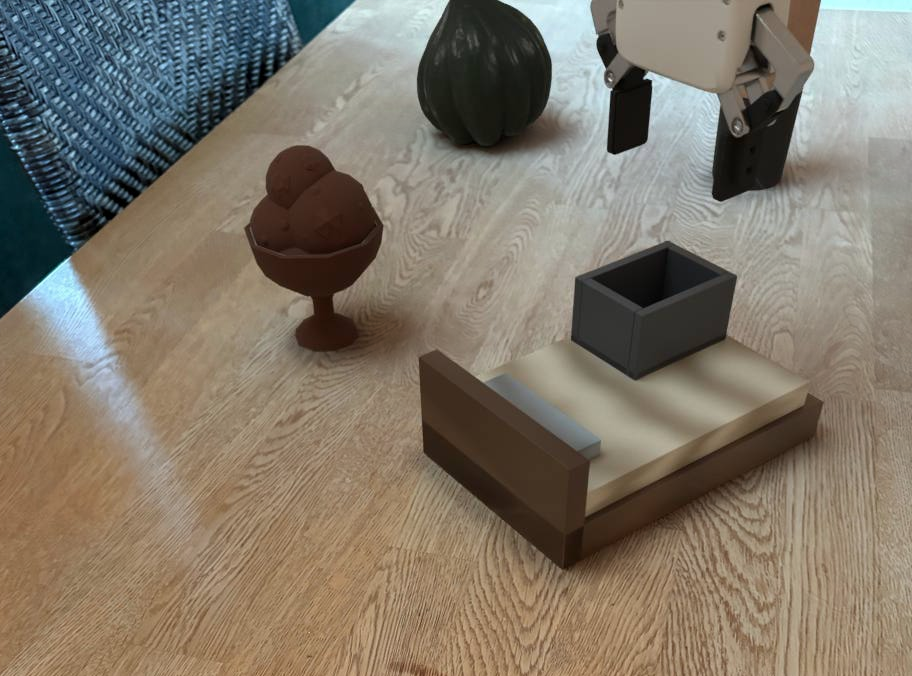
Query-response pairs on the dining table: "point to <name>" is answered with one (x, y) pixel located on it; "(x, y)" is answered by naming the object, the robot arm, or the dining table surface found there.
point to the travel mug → (780, 133)
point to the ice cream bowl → (314, 239)
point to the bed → (561, 470)
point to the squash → (483, 72)
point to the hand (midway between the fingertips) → (677, 170)
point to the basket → (652, 308)
